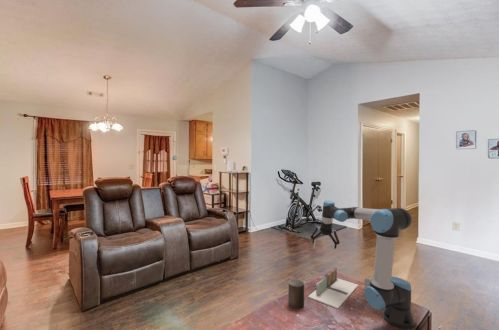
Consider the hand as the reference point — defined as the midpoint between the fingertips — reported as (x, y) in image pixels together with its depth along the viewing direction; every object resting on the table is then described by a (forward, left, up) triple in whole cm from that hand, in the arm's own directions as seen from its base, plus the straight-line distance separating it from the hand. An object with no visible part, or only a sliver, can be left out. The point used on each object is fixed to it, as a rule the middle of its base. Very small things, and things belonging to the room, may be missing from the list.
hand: (323, 249), depth 186 cm
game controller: (+10, -32, -25) cm, 42 cm away
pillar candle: (-36, +2, -25) cm, 44 cm away
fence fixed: (+3, -4, -24) cm, 25 cm away
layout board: (-5, -10, -25) cm, 28 cm away
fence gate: (-12, -4, -24) cm, 27 cm away
